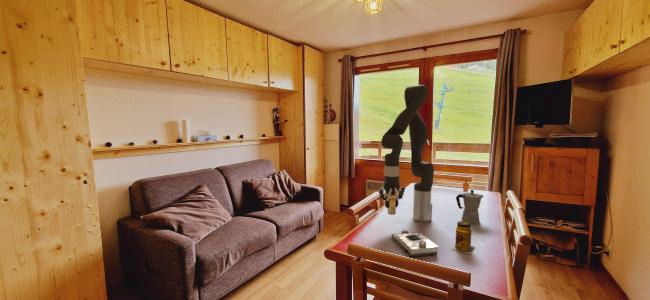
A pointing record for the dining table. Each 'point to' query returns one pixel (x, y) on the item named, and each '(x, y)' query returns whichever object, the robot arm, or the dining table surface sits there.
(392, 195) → the brass pin
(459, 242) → the yellow jar
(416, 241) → the slotted plate with knobs
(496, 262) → the dining table surface
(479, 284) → the dining table surface
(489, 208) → the dining table surface
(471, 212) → the coffeepot
